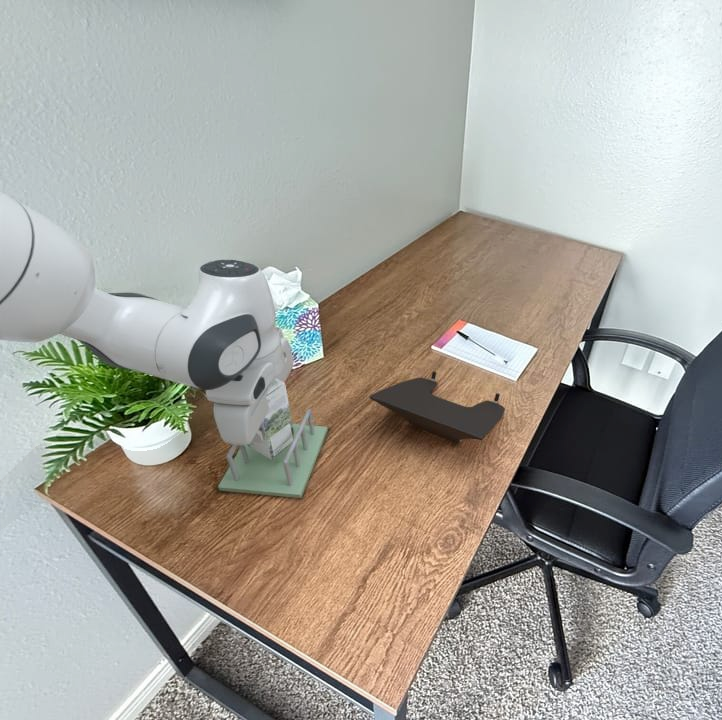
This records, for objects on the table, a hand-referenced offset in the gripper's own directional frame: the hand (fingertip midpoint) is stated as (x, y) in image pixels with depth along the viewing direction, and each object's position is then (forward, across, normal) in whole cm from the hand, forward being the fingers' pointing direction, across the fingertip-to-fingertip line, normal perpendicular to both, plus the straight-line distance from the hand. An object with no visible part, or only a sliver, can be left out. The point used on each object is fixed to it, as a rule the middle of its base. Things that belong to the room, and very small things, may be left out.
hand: (268, 421), depth 80 cm
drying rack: (+10, 0, 0) cm, 10 cm away
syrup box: (+6, 0, 0) cm, 6 cm away
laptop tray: (+10, -14, +30) cm, 35 cm away
